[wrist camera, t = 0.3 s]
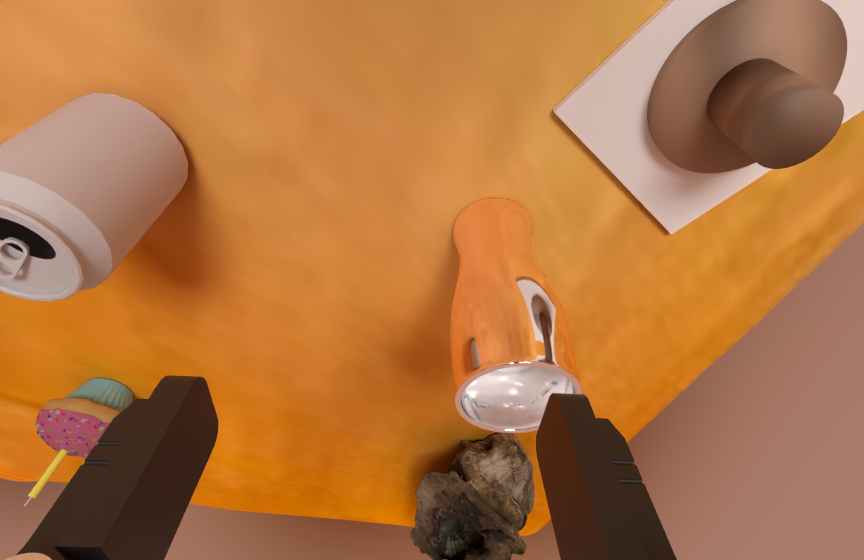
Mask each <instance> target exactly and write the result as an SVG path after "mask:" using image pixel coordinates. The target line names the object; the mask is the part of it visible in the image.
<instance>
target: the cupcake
mask: <svg viewBox="0 0 864 560" xmlns="http://www.w3.org/2000/svg"><path fill="white" fill-rule="evenodd" d="M132 400H133V393H132V392H131V390H130V389H129V388H128V387H126V386H125V385H123V384H121V383H119V382H117V381H114V380H110V379H105V378H94V379H91V380H89V381H87V382H86V383H85V384H83V385H82V386H81V387H80V388H78V389H77V390H76V391H74V392H73V393H71V394H70V395H68V396H67V397H65V398H61V399H52V400H49V401H48V402H46V404H45V405H44V406H43V408H42V409H41V410H40V412H39V414H38V416H37V420H36V422H35V426H36V427H37V429H38V430H37V433H39V434H40V435H39V434H38V435H39V436H40V437H41V438H42V440H43V441H44V442H45V443H46V444H47V445H49V446H51V447H53V449H55V450H56V451H57V452H59V453H58V455H57V456H56V458H55V459H54V460H53V462H52V463H51V464H50V466H49V467H48V469H47V470H46V471H45V473H44V474H43V475H42V477H41V478H40V480H39V481H38V482H37V484H36V485H35V486H34V488H33V489H32V491H31V492H30V493H29V495H28V496H29V497H30V498H29V499H28V500H27V502H26V503H25V504H24V506H26V505H27V504H28V503H29V501H30V500H31V499H32V498H36V496H37V495H38V494H39V492H40V491H41V489H42V488H43V487H44V485H45V484H46V483H47V481H48V480H49V478H50V477H51V476H52V474H53V473H54V471H55V470H56V469H57V467H58V466H59V464H60V463H61V462H62V460H63V459H64V457H65V456H66V455H69V454H70V455H69V456H72V455H73V456H80V457H81V458H86V457H87V456H88V454H89V453H90V452H91V450H92V449H93V447H94V446H97V444H98V440H99V439H100V437H101V436H102V434H103V433H104V431H105V430H106V429H107V427H108V426H109V424H110V423H111V421H112V420H113V418H114V417H116V416H117V415H118V414H119V413H121V412H122V411H123V410H124V409H125V408H127V407H128V406H129V405H130V404H132Z"/></svg>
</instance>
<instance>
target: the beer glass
mask: <svg viewBox="0 0 864 560" xmlns="http://www.w3.org/2000/svg"><path fill="white" fill-rule="evenodd" d="M532 236H533V227H532V221H531V218H530V216H529V214H528V213H527V211H526V210H525V209H524V208H523V207H522V206H520V205H519V204H517V203H515V202H513V201H511V200H508V199H503V198H489V199H484V200H480V201H477V202H475V203H473V204H471V205H470V206H468V207H467V208H466V209H464V210H463V211H462V212H461V213H460V215H459V216H458V218H457V219H456V221H455V224H454V227H453V240H454V244H455V247H456V250H457V252H458V255H459V261H460V266H459V273H458V278H457V283H456V287H455V292H454V297H453V302H452V308H451V316H450V330H449V345H450V360H451V369H452V377H453V385H454V393H455V406H456V409H457V411H458V413H459V414H460V415H461V416H462V417H463V418H464V419H465V420H466V421H467V422H469V423H470V424H472V425H474V426H476V427H479V428H482V429H485V430H489V431H493V432H501V433H523V432H531V431H536V430H538V428H539V426H540V423H541V420H542V417H543V414H544V411H545V408H546V405H547V402H548V399H549V397H550V395H551V394H552V393H565V394H582V387H581V385H580V381H579V376H578V370H577V364H576V358H575V353H574V348H573V343H572V339H571V335H570V331H569V327H568V323H567V320H566V317H565V314H564V312H563V309H562V306H561V304H560V302H559V300H558V297H557V295H556V293H555V291H554V289H553V287H552V285H551V284H550V282H549V280H548V278H547V277H546V275H545V273H544V271H543V270H542V268H541V266H540V264H539V263H538V261H537V259H536V257H535V254H534V252H533V248H532Z"/></svg>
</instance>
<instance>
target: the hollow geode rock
mask: <svg viewBox="0 0 864 560" xmlns="http://www.w3.org/2000/svg"><path fill="white" fill-rule="evenodd" d="M416 494H417V503H418V509H417V511H416V516H415V523H416V525H415V527H416V529H415V528H414V529H412V530H411V538H412V539H413V542H414V545H415V546H418V547H419V548H420V551H421V553H426V554H427V555H428V556H430V557H431V558H432V559H433V560H442V559H447V560H511V554H513V553H514V554H520V555H523V554H524V552H525V550H526V549H527V547H526V544H525V543H524V542H523V540H522V539H521V537H520V535H519V533H518V531H520V530H521V529H522V528H523V527H524V526H525V524H526V521H527V515H528V514H529V513H530V512H531V510H532V508H533V505H534V496H535V493H534V482H533V465H532V463H531V462H530V460H529V459H528V457H527V454H526V452H525V451H524V450H523V448H522V446H521V444H520V442H519V441H518V439H517V438H516V436H515V435H513V434H510V433H498V434H494V435H490V436H489V437H487V438H486V439H485V440H483V441H477V442H475V443H473V442H471V441H461V444H460V447H459V449H458V451H457V453H456V455H455V458H454V461H453V462H452V463H451V465H450V467H449V469H448V472H447V473H441V472H438V471H434V472H431V473H428V474H426V475H424V477H423V479H422V483H421V484H420V485H419V488H417V489H416Z"/></svg>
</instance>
